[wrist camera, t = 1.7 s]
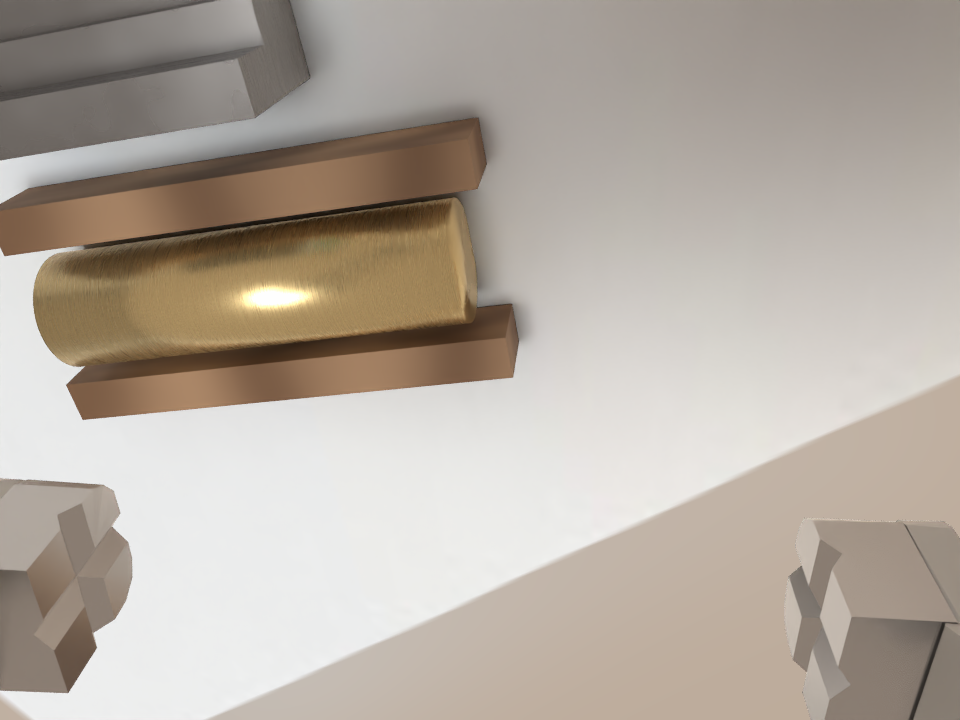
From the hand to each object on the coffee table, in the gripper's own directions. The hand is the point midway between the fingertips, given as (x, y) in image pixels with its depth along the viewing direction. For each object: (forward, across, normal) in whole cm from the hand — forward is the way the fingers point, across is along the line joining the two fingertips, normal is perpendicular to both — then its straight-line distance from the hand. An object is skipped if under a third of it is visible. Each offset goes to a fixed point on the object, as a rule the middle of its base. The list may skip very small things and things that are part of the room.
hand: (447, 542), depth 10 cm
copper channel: (+19, +9, +4) cm, 22 cm away
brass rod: (+20, +8, +4) cm, 22 cm away
